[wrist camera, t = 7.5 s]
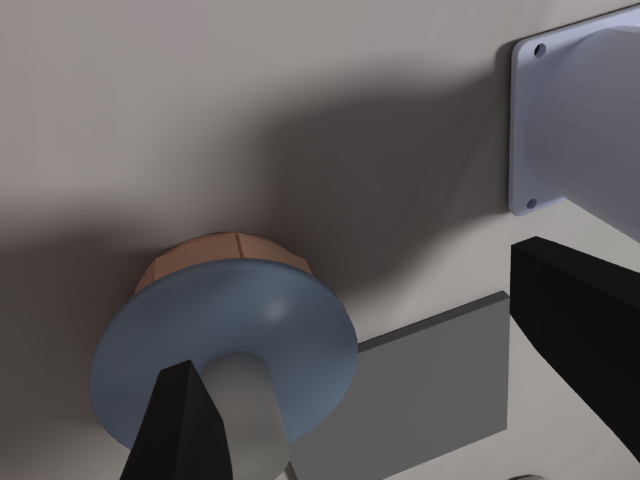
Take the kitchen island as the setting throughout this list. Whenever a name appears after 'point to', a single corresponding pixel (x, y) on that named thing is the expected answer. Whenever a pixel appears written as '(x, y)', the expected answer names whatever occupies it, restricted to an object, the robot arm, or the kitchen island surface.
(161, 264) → the bowl
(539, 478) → the supplement can
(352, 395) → the mat
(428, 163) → the kitchen island surface
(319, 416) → the lid
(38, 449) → the kitchen island surface
